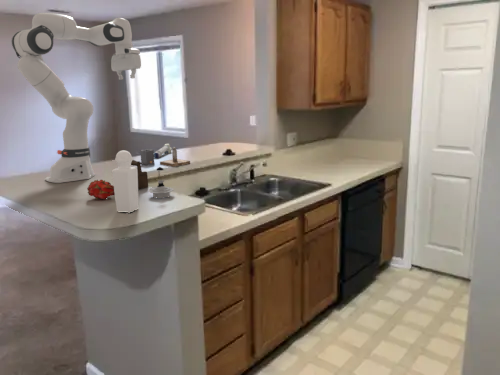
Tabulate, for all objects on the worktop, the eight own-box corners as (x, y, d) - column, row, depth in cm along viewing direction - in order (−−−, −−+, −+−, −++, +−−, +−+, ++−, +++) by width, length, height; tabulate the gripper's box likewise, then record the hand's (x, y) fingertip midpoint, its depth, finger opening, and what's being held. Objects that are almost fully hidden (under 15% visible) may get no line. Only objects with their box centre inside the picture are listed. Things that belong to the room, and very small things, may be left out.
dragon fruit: (87, 201, 175) (116, 206, 174) (80, 194, 167) (111, 198, 167) (93, 182, 178) (122, 186, 178) (86, 174, 170) (117, 178, 170)
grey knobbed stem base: (161, 163, 180) (141, 167, 172) (177, 166, 173) (157, 170, 166) (163, 192, 182) (143, 197, 175) (179, 196, 176) (159, 201, 169)
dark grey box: (147, 165, 243) (146, 151, 241) (140, 164, 247) (139, 150, 245) (155, 164, 247) (154, 150, 245) (148, 162, 251) (147, 149, 249)
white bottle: (125, 208, 160) (120, 148, 155) (140, 209, 158) (136, 149, 153) (114, 213, 154) (109, 151, 148) (131, 214, 152) (126, 152, 147)
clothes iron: (131, 182, 202) (128, 153, 199) (149, 187, 191) (147, 157, 187) (115, 185, 196) (112, 156, 193) (133, 191, 185) (130, 160, 182)
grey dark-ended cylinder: (151, 152, 265) (164, 141, 289) (152, 162, 268) (165, 151, 291) (159, 152, 265) (172, 141, 288) (161, 162, 267) (173, 151, 290)
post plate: (173, 166, 239) (172, 149, 236) (160, 164, 246) (159, 147, 244) (190, 163, 247) (189, 147, 245) (176, 161, 255) (175, 145, 253)
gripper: (107, 53, 229) (109, 80, 232) (132, 49, 217) (134, 77, 220) (117, 54, 234) (119, 80, 237) (142, 50, 222) (144, 77, 225)
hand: (126, 79), depth 228 cm, fingers open, 8 cm apart
